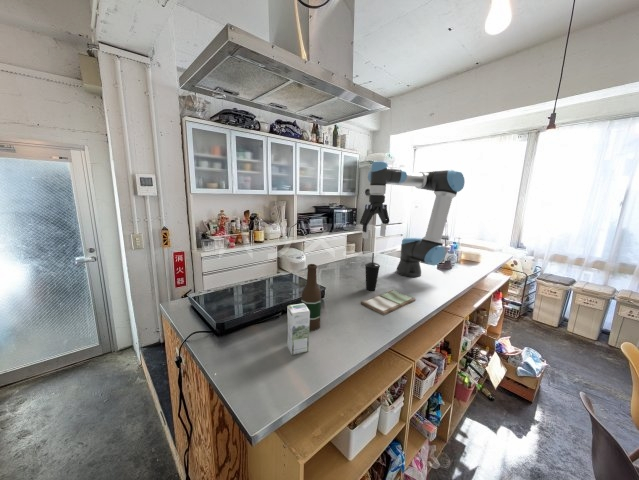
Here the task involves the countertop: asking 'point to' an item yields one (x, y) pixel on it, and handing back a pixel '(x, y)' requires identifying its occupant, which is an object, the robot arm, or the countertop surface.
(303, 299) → the beer bottle
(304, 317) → the syrup box
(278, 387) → the countertop surface
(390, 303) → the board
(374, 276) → the drinking cup
